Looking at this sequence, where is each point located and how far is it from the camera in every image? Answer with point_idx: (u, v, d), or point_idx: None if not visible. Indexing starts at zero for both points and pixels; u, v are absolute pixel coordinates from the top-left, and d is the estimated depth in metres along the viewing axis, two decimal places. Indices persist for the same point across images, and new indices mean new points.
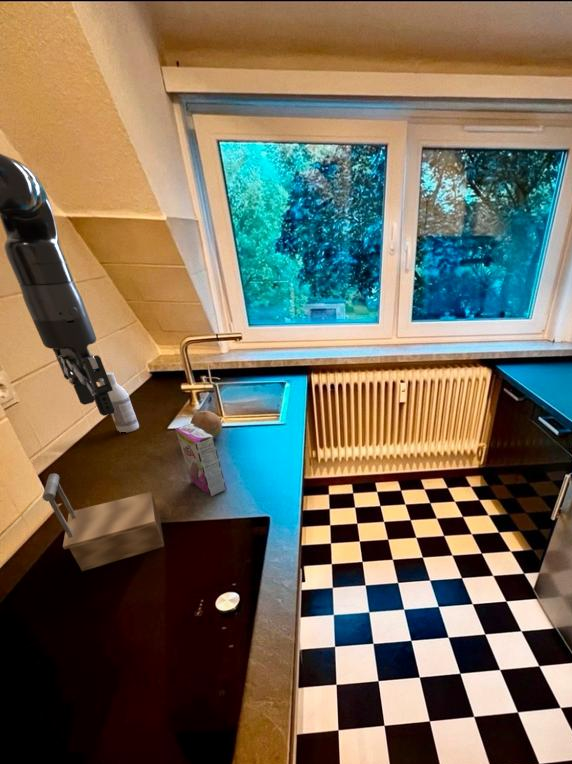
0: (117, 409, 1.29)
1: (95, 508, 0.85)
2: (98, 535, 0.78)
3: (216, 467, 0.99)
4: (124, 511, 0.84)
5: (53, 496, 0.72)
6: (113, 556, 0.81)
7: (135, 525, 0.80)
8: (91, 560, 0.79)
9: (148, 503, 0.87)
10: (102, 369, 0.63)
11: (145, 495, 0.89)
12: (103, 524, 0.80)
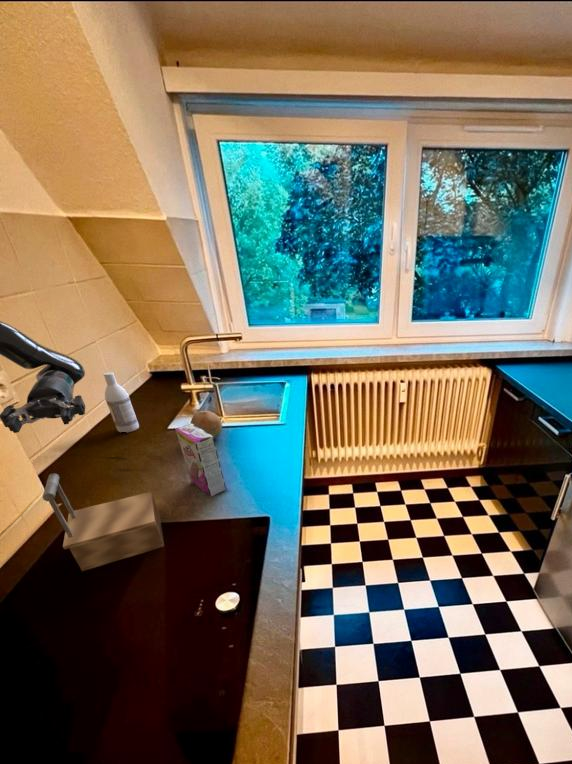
0: (117, 409, 1.29)
1: (95, 508, 0.85)
2: (98, 535, 0.78)
3: (216, 467, 0.99)
4: (124, 511, 0.84)
5: (53, 496, 0.72)
6: (113, 556, 0.81)
7: (135, 525, 0.80)
8: (91, 560, 0.79)
9: (148, 503, 0.87)
10: (84, 407, 0.87)
11: (145, 495, 0.89)
12: (103, 524, 0.80)
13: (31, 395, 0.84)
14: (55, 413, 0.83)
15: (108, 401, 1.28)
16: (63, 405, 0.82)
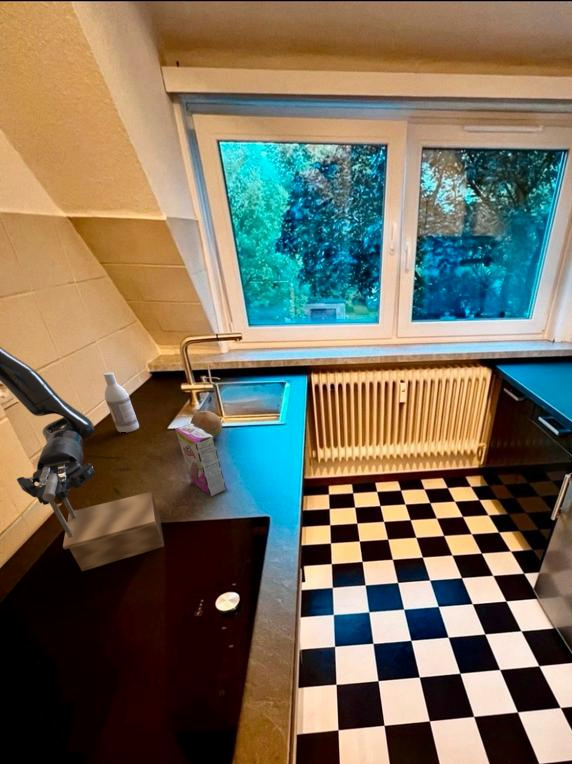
0: (117, 409, 1.29)
1: (95, 508, 0.85)
2: (98, 535, 0.78)
3: (216, 467, 0.99)
4: (124, 511, 0.84)
5: (53, 496, 0.72)
6: (113, 556, 0.81)
7: (135, 525, 0.80)
8: (91, 560, 0.79)
9: (148, 503, 0.87)
10: (89, 476, 0.81)
11: (145, 495, 0.89)
12: (103, 524, 0.80)
13: (42, 461, 0.80)
14: None
15: (108, 401, 1.28)
16: (61, 477, 0.77)
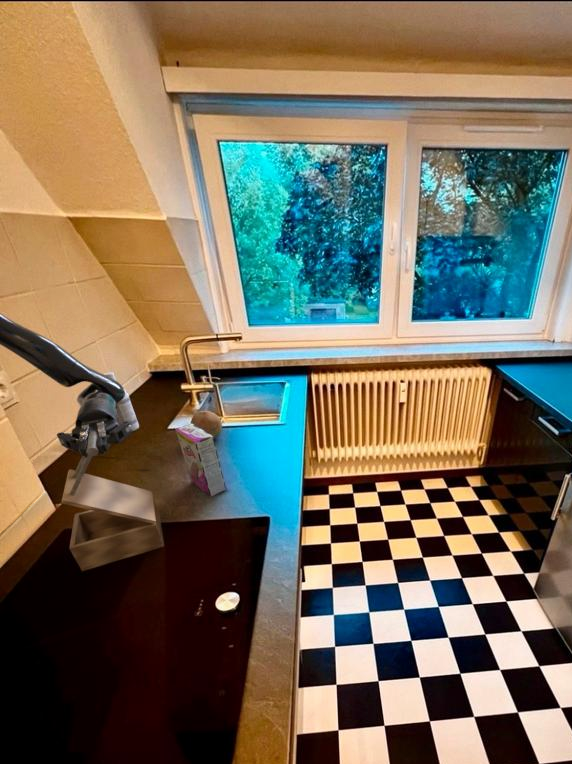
0: (117, 409, 1.29)
1: (97, 480, 0.82)
2: (100, 507, 0.75)
3: (216, 467, 0.99)
4: (126, 497, 0.83)
5: (96, 453, 0.72)
6: (113, 556, 0.81)
7: (137, 516, 0.79)
8: (91, 560, 0.79)
9: (149, 501, 0.87)
10: (127, 434, 0.81)
11: (146, 492, 0.89)
12: (105, 498, 0.78)
13: (80, 418, 0.80)
14: None
15: None
16: (101, 432, 0.77)
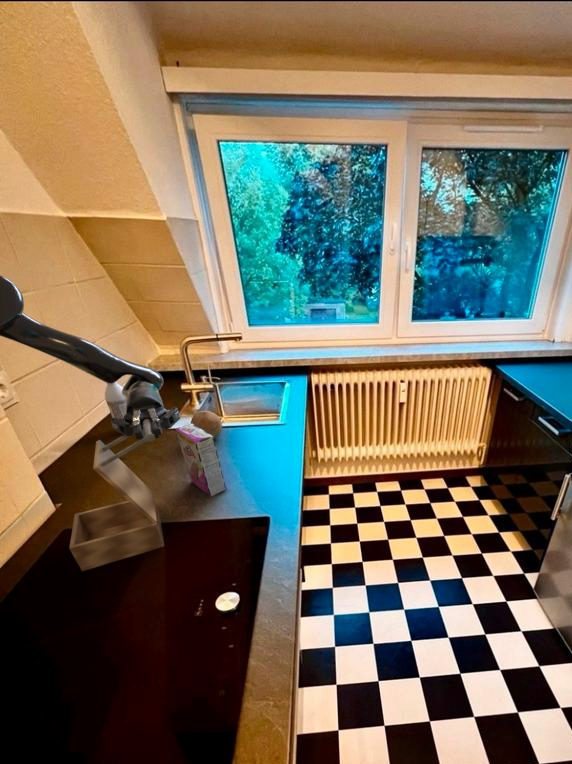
0: (117, 409, 1.29)
1: (117, 460, 0.82)
2: (121, 487, 0.75)
3: (216, 467, 0.99)
4: (137, 487, 0.83)
5: (151, 441, 0.76)
6: (113, 556, 0.81)
7: (144, 509, 0.79)
8: (91, 560, 0.79)
9: (152, 500, 0.87)
10: (176, 420, 0.84)
11: (149, 490, 0.89)
12: (123, 481, 0.78)
13: (131, 405, 0.83)
14: None
15: (108, 401, 1.28)
16: (154, 418, 0.80)
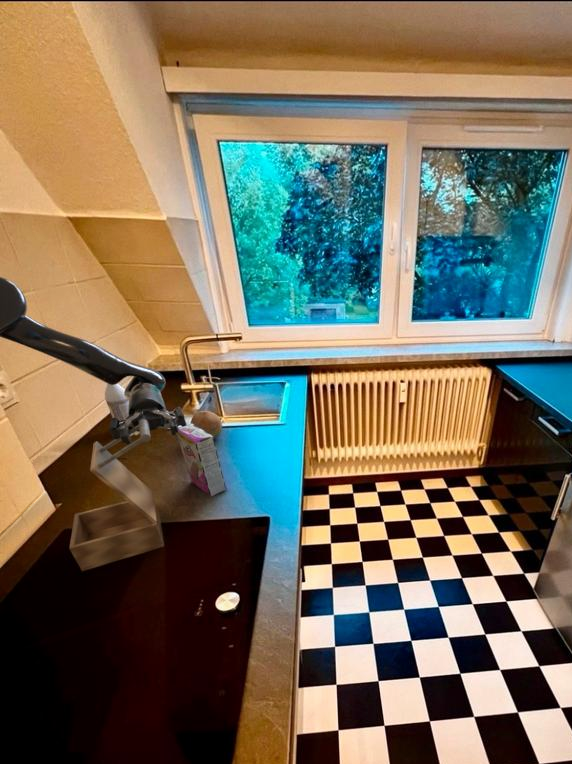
0: (117, 409, 1.29)
1: (116, 461, 0.82)
2: (119, 488, 0.75)
3: (216, 467, 0.99)
4: (136, 488, 0.83)
5: (147, 441, 0.75)
6: (113, 556, 0.81)
7: (144, 510, 0.79)
8: (91, 560, 0.79)
9: (151, 500, 0.87)
10: None
11: (149, 490, 0.89)
12: (121, 482, 0.78)
13: (133, 407, 0.83)
14: (158, 424, 0.83)
15: (108, 401, 1.28)
16: (167, 416, 0.82)
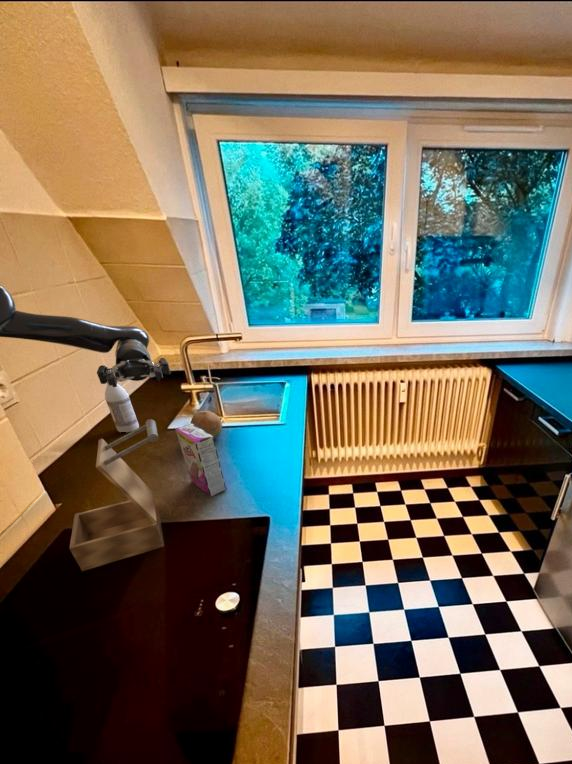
0: (117, 409, 1.29)
1: (119, 459, 0.83)
2: (122, 486, 0.75)
3: (216, 467, 0.99)
4: (138, 487, 0.83)
5: (155, 441, 0.76)
6: (113, 556, 0.81)
7: (145, 509, 0.79)
8: (91, 560, 0.79)
9: (152, 500, 0.87)
10: None
11: (149, 490, 0.89)
12: (125, 480, 0.78)
13: (120, 356, 0.89)
14: (144, 372, 0.88)
15: (108, 401, 1.28)
16: (153, 364, 0.87)
